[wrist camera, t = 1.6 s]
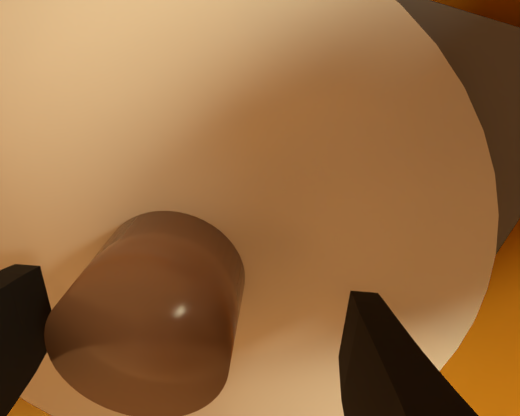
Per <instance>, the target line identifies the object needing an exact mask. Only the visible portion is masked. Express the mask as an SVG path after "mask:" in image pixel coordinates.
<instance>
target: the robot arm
mask: <svg viewBox="0 0 520 416" xmlns="http://www.w3.org/2000/svg"><path fill="white" fill-rule="evenodd" d="M50 312H51V306H50V303H49V299H48V295H47V291H46V287H45V283H44V279H43V275H42V271H41V267H40V266H35V265H22V264H14V265H11V266H9V267H6V268H4V269H2V270H0V416H7V414H8V413H9V412H10V410H11V409H12V407H13V406H14V404H15V403H16V401H17V400H18V398H19V397H20V396H21V394H22V393H23V391H24V390H25V388H26V387H27V385H28V384H29V382H30V381H31V379H32V378H33V376H34V375H35V373H36V372H37V370H38V368H39V366H40V364H41V362H42V360H43V359H44V357H45V355H46V353H47V350H46V346H45V339H44V331H45V324H46V321H47V318H48V316H49V314H50ZM338 358H339V374H340V388H341V401H342V407H343V413H344V416H478V415H477V414H476V413H475V411H474V410H473V409H472V408H471V407H470V406H469V405H468V404H467V403H466V401H465V400H464V399H463V398H462V397H461V396H460V395H459V394H458V393H457V391H456V390H455V389H454V388H453V387H452V386H451V385H450V383H449V382H448V381H447V380H446V379H445V378H444V376H443V375H442V374H441V373H440V372H439V370H438V369H437V368H436V367H435V366H434V364H433V363H432V362H431V361H430V359H429V358H428V357H427V356H426V355H425V353H424V352H423V351H422V350H421V348H420V347H419V346H418V345H417V343H416V342H415V341H414V340H413V338H412V337H411V336H410V334H409V333H408V332H407V330H406V329H405V328H404V327H403V325H402V324H401V323H400V321H399V320H398V319H397V317H396V316H395V315H394V313H393V312H392V311H391V309H390V308H389V306H388V305H387V304H386V302H385V301H384V300H383V298H382V297H381V296H380V295H379V294H378V293H374V292H362V291H350V296H349V301H348V307H347V312H346V317H345V323H344V328H343V334H342V339H341V345H340V350H339V356H338Z"/></svg>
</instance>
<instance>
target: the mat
mask: <svg viewBox="0 0 520 416" xmlns="http://www.w3.org/2000/svg"><path fill="white" fill-rule="evenodd" d="M396 1H397V2H398V3H400V4H401V5H402V7H403V8H404V9H405V10H406V11H407V12H408V13H409V14H410V15H411V17H412V18H413V19H414V20H415V21H416V22H417V23H418V24H419V25H420V27H421V28H422V29H423V30H424V31H425V32H426V33H427V34H428V35H429V37H430V38H431V39H432V40H433V41H434V42H435V43H436V44H437V46H438V47H439V49H440V51H441V52H442V54H443V55H444V57H445V58H446V60H447V61H448V63H449V64H450V66H451V67H452V69H453V71H454V72H455V74H456V75H457V77H458V78H459V80H460V81H461V83H462V84H463V86H464V88H465V90H466V92H467V94H468V97H469V99H470V101H471V103H472V106H473V108H474V110H475V112H476V115H477V117H478V119H479V121H480V124H481V126H482V128H483V130H484V134H485V138H486V142H487V145H488V149H489V153H490V157H491V161H492V165H493V168H494V172H495V180H496V191H497V202H498V213H499V218H498V232H497V246H496V254H497V252H498V251H499V249H500V248H501V246H502V244H503V243H504V241H505V240H506V238H507V237H508V235H509V234H510V232H511V231H512V229H513V228H514V226H515V225H516V223H517V222H518V220H519V219H520V27H517V26H513V25H510V24H507V23H503V22H500V21H497V20H493V19H490V18H487V17H483V16H480V15H477V14H474V13H470V12H467V11H464V10H460V9H457V8H454V7H450V6H447V5H444V4H440V3H437V2H434V1H430V0H396Z"/></svg>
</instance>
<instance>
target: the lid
mask: <svg viewBox="0 0 520 416" xmlns="http://www.w3.org/2000/svg"><path fill="white" fill-rule="evenodd" d="M498 218H499V213H498V202H497V191H496V180H495V172H494V168H493V165H492V161H491V157H490V153H489V149H488V145H487V142H486V138H485V134H484V130H483V128H482V126H481V124H480V121H479V119H478V117H477V115H476V112H475V110H474V108H473V106H472V103H471V101H470V99H469V97H468V94H467V92H466V90H465V88H464V86H463V84H462V83H461V81H460V80H459V78H458V77H457V75H456V74H455V72H454V71H453V69H452V67H451V66H450V64H449V63H448V61H447V60H446V58H445V57H444V55H443V54H442V52H441V51H440V49H439V47H438V46H437V44H436V43H435V42H434V41H433V40H432V39H431V38H430V37H429V35H428V34H427V33H426V32H425V31H424V30H423V29H422V28H421V27H420V25H419V24H418V23H417V22H416V21H415V20H414V19H413V18H412V17H411V15H410V14H409V13H408V12H407V11H406V10H405V9H404V8H403V7H402V5H401V4H400V3H398V2H397V1H396V0H0V270H2V269H4V268H6V267H9V266H11V265H14V264H22V265H35V266H40V267H41V271H42V275H43V279H44V283H45V287H46V291H47V295H48V299H49V303H50V306H51V312H50V314H49V316H48V318H47V321H46V324H45V331H44V339H45V346H46V350H47V353H46V355H45V357H44V359H43V360H42V362H41V364H40V366H39V368H38V370H37V372H36V373H35V375H34V376H33V378H32V379H31V381H30V382H29V384H28V385H27V387H26V388H25V390H24V391H23V393H22V394H21V396H20V397H21V398H22V399H24V400H25V401H27V402H28V403H30V404H32V405H34V406H35V407H37V408H39V409H41V410H43V411H45V412H46V413H48V414H50V415H52V416H344V413H343V407H342V401H341V388H340V374H339V358H338V356H339V350H340V345H341V339H342V334H343V328H344V323H345V317H346V312H347V307H348V301H349V296H350V291H362V292H374V293H378V294H379V295H380V296H381V297H382V298H383V300H384V301H385V302H386V304H387V305H388V306H389V308H390V309H391V311H392V312H393V313H394V315H395V316H396V317H397V319H398V320H399V321H400V323H401V324H402V325H403V327H404V328H405V329H406V330H407V332H408V333H409V334H410V336H411V337H412V338H413V340H414V341H415V342H416V343H417V345H418V346H419V347H420V348H421V350H422V351H423V352H424V353H425V355H426V356H427V357H428V358H429V359H430V361H431V362H432V363H433V364H434V366H435V367H436V368H437V369H438V370H439V371H440V370H441V368H442V367H443V366H444V365H445V364H446V362H447V361H448V360H449V359H450V357H451V356H452V355H453V354H454V352H455V351H456V350H457V349H458V347H459V345H460V344H461V342H462V340H463V339H464V337H465V335H466V334H467V332H468V330H469V329H470V327H471V325H472V324H473V322H474V320H475V318H476V316H477V313H478V311H479V308H480V306H481V303H482V301H483V298H484V296H485V294H486V291H487V289H488V285H489V281H490V276H491V272H492V268H493V264H494V259H495V255H496V246H497V232H498Z"/></svg>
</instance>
